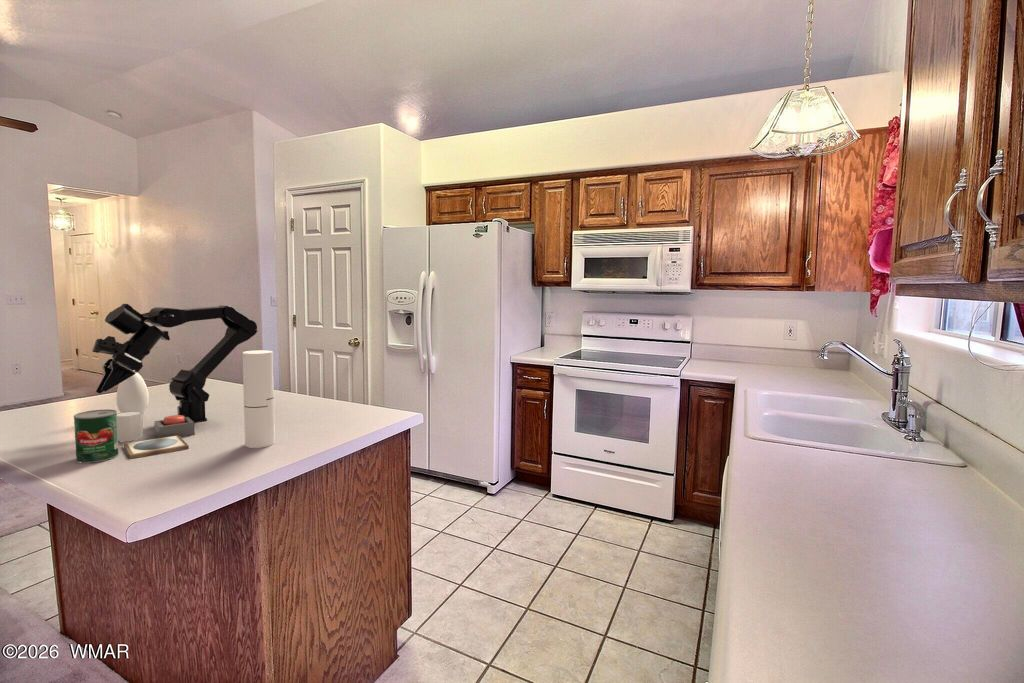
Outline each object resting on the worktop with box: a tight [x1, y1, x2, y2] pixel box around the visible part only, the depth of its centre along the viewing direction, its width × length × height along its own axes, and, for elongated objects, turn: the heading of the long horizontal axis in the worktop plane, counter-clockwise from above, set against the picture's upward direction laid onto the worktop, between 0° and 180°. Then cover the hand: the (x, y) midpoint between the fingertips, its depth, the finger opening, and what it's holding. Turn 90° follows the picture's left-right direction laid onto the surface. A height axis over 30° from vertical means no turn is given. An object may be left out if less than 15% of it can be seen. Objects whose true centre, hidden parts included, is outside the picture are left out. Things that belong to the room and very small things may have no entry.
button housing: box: [153, 417, 196, 438], centre depth 138 cm, size 8×8×4 cm
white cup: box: [117, 411, 145, 442], centre depth 132 cm, size 7×7×7 cm
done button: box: [163, 414, 185, 426], centre depth 137 cm, size 5×5×2 cm
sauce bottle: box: [115, 370, 150, 413], centre depth 152 cm, size 8×8×18 cm
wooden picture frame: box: [122, 435, 190, 459], centre depth 126 cm, size 12×12×1 cm
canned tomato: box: [73, 408, 120, 464], centre depth 117 cm, size 8×8×11 cm
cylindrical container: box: [242, 349, 276, 449], centre depth 130 cm, size 7×7×25 cm
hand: (100, 391), depth 130 cm, fingers open, 9 cm apart
